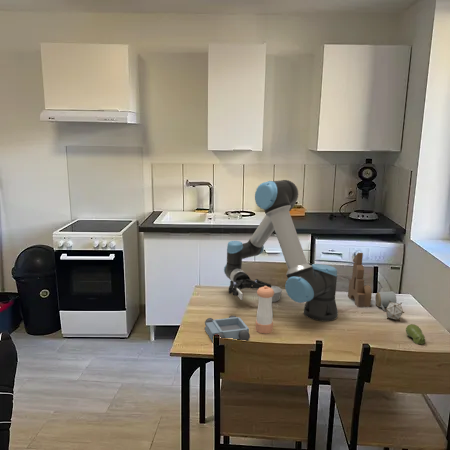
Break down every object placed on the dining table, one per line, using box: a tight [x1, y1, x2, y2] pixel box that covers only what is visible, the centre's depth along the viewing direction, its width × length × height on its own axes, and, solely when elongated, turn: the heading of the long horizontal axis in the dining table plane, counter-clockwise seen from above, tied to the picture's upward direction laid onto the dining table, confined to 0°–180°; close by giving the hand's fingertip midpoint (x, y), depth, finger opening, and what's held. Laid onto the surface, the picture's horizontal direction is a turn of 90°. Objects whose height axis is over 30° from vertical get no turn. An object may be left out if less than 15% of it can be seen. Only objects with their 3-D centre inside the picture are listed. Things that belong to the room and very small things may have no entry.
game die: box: [385, 300, 406, 322], centre depth 193 cm, size 9×8×10 cm
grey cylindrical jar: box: [375, 290, 397, 312], centre depth 206 cm, size 11×8×8 cm
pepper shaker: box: [254, 286, 274, 334], centre depth 178 cm, size 7×7×19 cm
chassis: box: [204, 315, 251, 343], centre depth 175 cm, size 15×16×4 cm
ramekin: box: [271, 284, 283, 303], centre depth 214 cm, size 11×11×5 cm
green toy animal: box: [405, 323, 426, 345], centre depth 175 cm, size 6×5×10 cm
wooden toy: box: [347, 252, 373, 308], centre depth 212 cm, size 16×7×25 cm, turn 4°
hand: (256, 295), depth 187 cm, fingers open, 13 cm apart
